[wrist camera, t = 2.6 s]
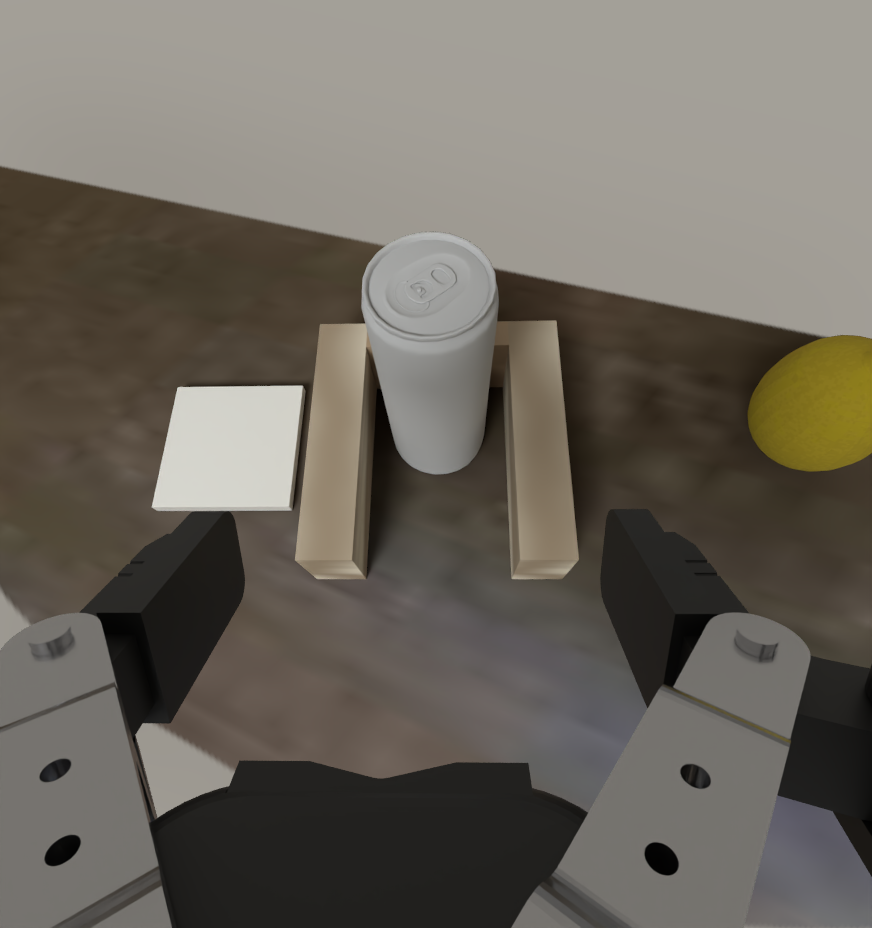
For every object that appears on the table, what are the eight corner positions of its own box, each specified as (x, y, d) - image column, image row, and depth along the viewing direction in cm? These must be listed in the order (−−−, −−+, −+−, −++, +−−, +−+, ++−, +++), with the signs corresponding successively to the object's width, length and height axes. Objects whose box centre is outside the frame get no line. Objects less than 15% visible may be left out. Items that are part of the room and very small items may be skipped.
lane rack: (544, 364, 31) (556, 320, 28) (561, 579, 27) (578, 559, 23) (336, 367, 32) (320, 324, 28) (317, 578, 27) (295, 560, 23)
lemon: (780, 381, 30) (884, 280, 23) (855, 463, 28) (995, 381, 21) (698, 425, 29) (778, 334, 22) (770, 513, 27) (884, 445, 20)
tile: (305, 391, 31) (302, 385, 31) (292, 510, 28) (288, 506, 28) (182, 392, 31) (177, 387, 31) (157, 511, 29) (151, 507, 28)
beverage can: (376, 431, 30) (329, 275, 19) (446, 382, 31) (439, 207, 20) (432, 496, 28) (416, 368, 17) (503, 442, 29) (530, 288, 18)
